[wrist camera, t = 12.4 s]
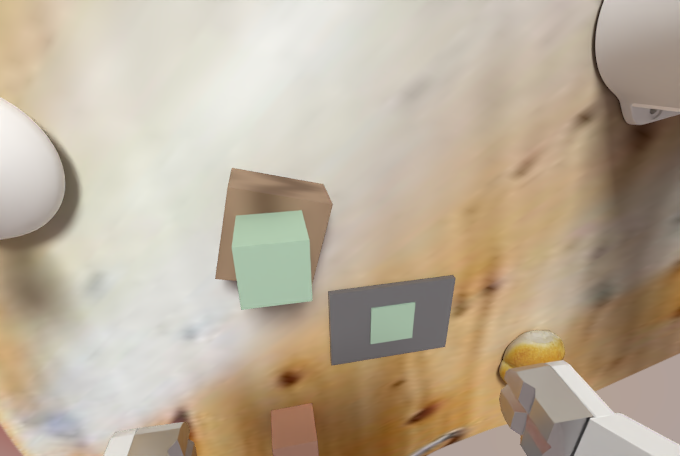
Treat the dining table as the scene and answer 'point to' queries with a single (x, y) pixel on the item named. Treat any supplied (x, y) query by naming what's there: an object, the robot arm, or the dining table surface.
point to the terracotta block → (294, 431)
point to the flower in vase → (26, 174)
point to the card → (389, 319)
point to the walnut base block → (272, 210)
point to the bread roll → (532, 350)
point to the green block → (272, 259)
